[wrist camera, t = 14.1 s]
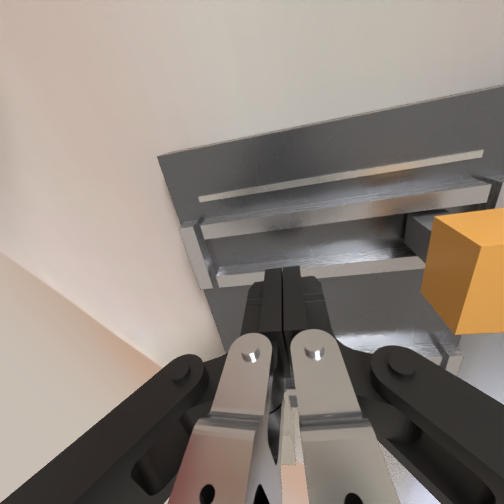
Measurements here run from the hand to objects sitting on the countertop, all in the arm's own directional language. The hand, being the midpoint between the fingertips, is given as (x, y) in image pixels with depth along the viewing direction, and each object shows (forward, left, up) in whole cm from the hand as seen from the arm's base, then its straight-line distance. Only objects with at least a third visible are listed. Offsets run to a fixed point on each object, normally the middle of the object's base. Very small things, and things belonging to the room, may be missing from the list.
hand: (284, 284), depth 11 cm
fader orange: (-7, 0, -3) cm, 8 cm away
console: (-2, +5, -5) cm, 8 cm away
